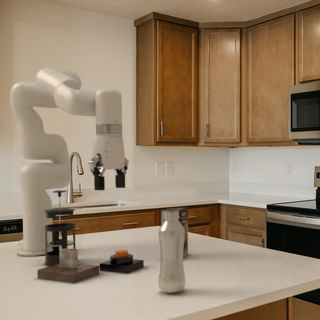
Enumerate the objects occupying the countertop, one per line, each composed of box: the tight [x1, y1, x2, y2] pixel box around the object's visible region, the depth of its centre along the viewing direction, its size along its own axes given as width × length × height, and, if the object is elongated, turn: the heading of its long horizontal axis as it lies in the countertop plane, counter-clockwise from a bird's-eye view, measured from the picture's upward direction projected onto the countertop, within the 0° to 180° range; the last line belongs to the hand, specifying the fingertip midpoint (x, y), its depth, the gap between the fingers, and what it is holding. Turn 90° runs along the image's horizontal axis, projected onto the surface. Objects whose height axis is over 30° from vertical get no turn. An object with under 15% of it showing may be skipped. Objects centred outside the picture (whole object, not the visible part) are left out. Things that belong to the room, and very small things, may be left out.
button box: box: [98, 253, 145, 275], centre depth 135 cm, size 10×8×4 cm
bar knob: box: [59, 248, 79, 269], centre depth 127 cm, size 5×2×5 cm, turn 67°
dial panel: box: [36, 262, 100, 284], centre depth 127 cm, size 13×10×3 cm
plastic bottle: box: [157, 210, 186, 294], centre depth 112 cm, size 6×7×20 cm
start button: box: [114, 249, 129, 257], centre depth 135 cm, size 4×4×2 cm
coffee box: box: [160, 207, 189, 259], centre depth 150 cm, size 9×6×16 cm
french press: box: [44, 189, 76, 267], centre depth 144 cm, size 12×9×23 cm
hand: (110, 188), depth 135 cm, fingers open, 9 cm apart
